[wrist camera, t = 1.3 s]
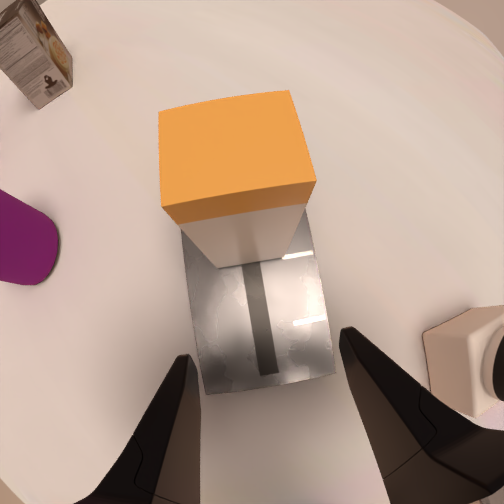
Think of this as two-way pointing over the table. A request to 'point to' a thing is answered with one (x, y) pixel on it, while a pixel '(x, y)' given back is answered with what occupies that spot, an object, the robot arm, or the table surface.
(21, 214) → the beverage can
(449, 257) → the table surface
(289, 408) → the table surface
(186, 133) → the fader knob
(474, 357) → the medicine bottle
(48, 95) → the coffee box
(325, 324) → the board
